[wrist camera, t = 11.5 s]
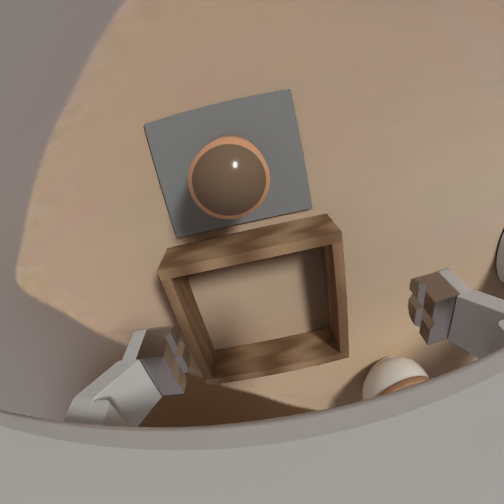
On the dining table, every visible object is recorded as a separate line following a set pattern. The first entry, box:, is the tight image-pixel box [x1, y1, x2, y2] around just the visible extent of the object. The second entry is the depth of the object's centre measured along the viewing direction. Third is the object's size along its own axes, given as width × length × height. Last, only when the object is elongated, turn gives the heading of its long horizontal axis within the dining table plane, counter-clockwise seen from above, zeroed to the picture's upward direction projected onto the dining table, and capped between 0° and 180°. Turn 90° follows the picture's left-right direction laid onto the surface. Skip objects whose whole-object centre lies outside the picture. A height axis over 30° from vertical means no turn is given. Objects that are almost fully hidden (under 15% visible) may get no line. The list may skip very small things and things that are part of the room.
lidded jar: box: [362, 356, 430, 400], centre depth 38 cm, size 11×11×9 cm
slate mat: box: [144, 89, 312, 238], centre depth 29 cm, size 14×12×1 cm
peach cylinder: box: [188, 134, 270, 219], centre depth 25 cm, size 6×6×7 cm
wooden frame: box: [157, 214, 349, 385], centre depth 33 cm, size 17×16×5 cm
